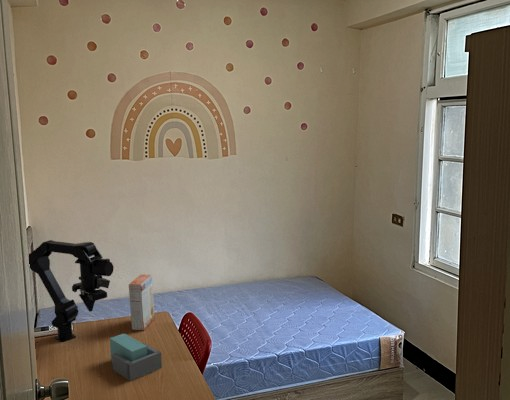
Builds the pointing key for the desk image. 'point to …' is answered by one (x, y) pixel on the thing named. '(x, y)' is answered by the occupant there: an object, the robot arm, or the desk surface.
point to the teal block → (127, 347)
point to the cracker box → (141, 302)
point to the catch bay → (137, 364)
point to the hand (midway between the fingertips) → (90, 311)
